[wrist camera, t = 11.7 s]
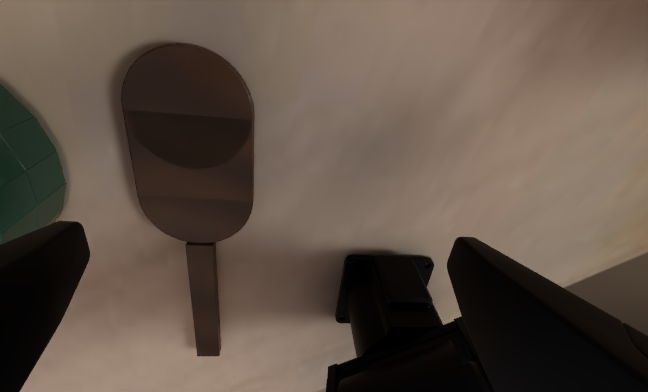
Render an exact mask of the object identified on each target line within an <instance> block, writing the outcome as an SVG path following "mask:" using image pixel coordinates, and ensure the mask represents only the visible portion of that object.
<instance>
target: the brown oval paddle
mask: <svg viewBox="0 0 648 392" xmlns="http://www.w3.org/2000/svg"><path fill="white" fill-rule="evenodd" d="M121 100H122V108H123V114H124V120H125V126H126V131H127V137H128V143H129V148H130V154H131V160H132V165H133V171H134V177H135V183H136V188H137V194H138V199H139V203H140V205H141V208H142V210H143V211H144V213H145V215H146V216H147V217H148V219H149V220H150V221H151V222H152V223H153V224H154V225H155V226H156V227H157V228H159V229H160V230H161V231H163V232H164V233H166V234H168V235H170V236H172V237H174V238H176V239H179V240H182V241H186V242H187V243H186V254H187V263H188V272H189V282H190V291H191V300H192V310H193V319H194V328H195V338H196V347H197V356H219V355H220V350H221V339H220V320H219V302H218V284H217V265H216V247H215V242H218V241H221V240H224V239H227V238H229V237H231V236H232V235H234V234H235V233H237V232H238V231H239V230H240V229H241V228H242V227H243V226H244V225H245V224H246V222H247V220H248V219H249V216H250V214H251V210H252V206H253V191H254V105H253V100H252V97H251V94H250V91H249V89H248V87H247V85H246V83H245V81H244V80H243V78H242V77H241V75H240V74H239V73H238V72H237V70H236V69H235V68H234V67H233V66H232V65H231V64H230V63H229V62H227V61H226V60H225V59H224V58H222V57H221V56H219V55H218V54H216V53H214V52H212V51H210V50H208V49H206V48H203V47H200V46H196V45H191V44H181V43H176V44H168V45H164V46H160V47H157V48H154V49H152V50H150V51H148V52H146V53H145V54H143V55H142V56H140V57H139V58H138V59H137V60H136V61H135V62H134V63H133V65H132V66H131V67H130V69H129V70H128V72H127V74H126V76H125V79H124V82H123V87H122V97H121Z"/></svg>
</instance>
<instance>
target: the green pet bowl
mask: <svg viewBox="0 0 648 392" xmlns="http://www.w3.org/2000/svg"><path fill="white" fill-rule="evenodd" d="M65 186H66V183H65V178H64V175H63V172H62V168H61V165H60V161H59V158H58V154H57V152H56V149H55V147H54V146H53V144H52V143H51V141H50V140H49V138H48V137H47V135H46V133H45V132H44V130H43V129H42V127H41V126H40V124H39V123H38V121H37V120H36V118H35V117H34V116H33V115H32V114H31V113H30V112H29V111H28V110H27V109H26V108H25V107H24V106H23V105H22V104H21V103H20V102H18V101H17V100H16V99H15V98H14V97H13V96H12V95H11V94H10V93H9V92H8V91H7V90H6V89H5V88H4V87H3V86H2V85H0V245H1V244H3V243H6V242H8V241H11V240H13V239H16V238H18V237H21V236H23V235H25V234H28V233H30V232H33V231H35V230H38V229H40V228H43V227H45V226H48V225H50V224H53V223H54V222H55V221H56V219H57V218H58V216H59V215H60V213H61V211H62V209H63V203H64V194H65Z"/></svg>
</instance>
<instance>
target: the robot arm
mask: <svg viewBox="0 0 648 392" xmlns="http://www.w3.org/2000/svg"><path fill="white" fill-rule="evenodd" d="M89 258H90V250H89V246H88V243H87V239H86V236H85V232H84V229H83V226H82V225H81V224H80V223H79V222H70V221H58V222H55V223H53V224H50V225H48V226H45V227H43V228H40V229H38V230H35V231H33V232H30V233H28V234H25V235H23V236H21V237H18V238H16V239H13V240H11V241H8V242H6V243H3V244H1V245H0V392H20V390H21V388H22V386H23V385H24V383H25V381H26V380H27V378H28V376H29V375H30V373H31V371H32V370H33V368H34V366H35V365H36V363H37V361H38V360H39V358H40V356H41V355H42V353H43V351H44V350H45V348H46V346H47V344H48V343H49V341H50V339H51V338H52V336H53V334H54V333H55V331H56V329H57V327H58V326H59V324H60V322H61V320H62V318H63V316H64V314H65V312H66V310H67V308H68V306H69V303H70V301H71V299H72V297H73V295H74V292H75V290H76V288H77V286H78V284H79V281H80V279H81V277H82V275H83V273H84V270H85V268H86V266H87V264H88V261H89ZM352 261H354V263H350V262H352ZM425 264H427V265H425ZM433 268H434V263H433V261H432V259H431V258H429V257H405V256H372V255H350V256H348V257H347V258H346V259H345V263H344V269H343V274H342V280H341V286H340V291H339V297H338V302H337V308H336V313H335V317H336V321H337V322H338V323H350V324H351V329H352V334H353V339H354V345H355V350H356V355H357V358H355V359H352V360H349V361H347V362H344V363H341V364H339V365H338V364H334V365H332V366H329V367H328V378H327V385H326V392H648V336H647V335H645V334H643V333H642V332H640V331H638V330H636V329H635V328H633V327H631V326H629V325H628V324H626V323H622V322H621V321H620V320H619V319H617V318H615V317H613V316H612V315H610V314H608V313H606V312H605V311H603V310H601V309H599V308H597V307H596V306H594V305H592V304H590V303H589V302H587V301H585V300H583V299H582V298H580V297H578V296H576V295H575V294H573V293H571V292H569V291H567V290H566V289H564V288H562V287H561V286H559V285H557V284H555V283H553V282H552V281H550V280H548V279H546V278H545V277H543V276H541V275H539V274H538V273H536V272H534V271H532V270H531V269H529V268H527V267H525V266H524V265H522V264H520V263H518V262H516V261H515V260H513V259H511V258H509V257H508V256H506V255H504V254H502V253H501V252H499V251H497V250H495V249H494V248H492V247H490V246H488V245H487V244H485V243H483V242H481V241H479V240H478V239H476V238H473V237H458V238H457V239H456V240H455V242H454V245H453V248H452V250H451V253H450V256H449V259H448V262H447V270H448V274H449V277H450V280H451V283H452V286H453V289H454V293H455V296H456V299H457V302H458V305H459V309H460V312H461V315H462V316H461V317H459V318H456V319H454V321H453V322H450V323H447V324H445V325H443V324H442V321H441V319H440V317H439V315H438V313H437V311H436V309H435V307H434V305H433V303H432V297H431V295H430V293H429V291H428V289H427V285H428V282H429V279H430V276H431V273H432V270H433ZM342 316H343V317H342Z"/></svg>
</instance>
